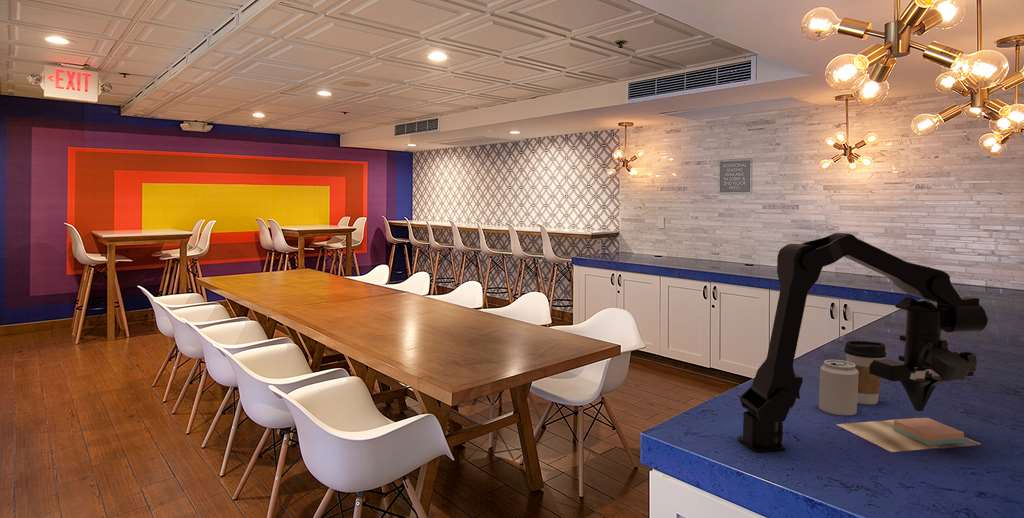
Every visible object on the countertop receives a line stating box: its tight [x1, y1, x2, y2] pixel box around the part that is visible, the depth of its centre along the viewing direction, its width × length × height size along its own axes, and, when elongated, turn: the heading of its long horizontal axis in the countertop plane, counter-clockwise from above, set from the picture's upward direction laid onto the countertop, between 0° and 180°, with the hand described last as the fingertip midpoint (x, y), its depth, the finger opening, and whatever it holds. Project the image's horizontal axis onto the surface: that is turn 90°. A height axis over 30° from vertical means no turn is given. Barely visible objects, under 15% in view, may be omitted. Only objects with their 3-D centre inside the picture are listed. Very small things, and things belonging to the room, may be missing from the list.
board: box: [836, 417, 982, 453], centre depth 116 cm, size 20×14×1 cm
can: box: [818, 359, 859, 416], centre depth 130 cm, size 8×8×12 cm
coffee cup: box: [843, 340, 887, 405], centre depth 136 cm, size 8×8×15 cm
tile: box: [893, 417, 965, 446], centre depth 115 cm, size 2×8×8 cm
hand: (918, 410), depth 114 cm, fingers closed
